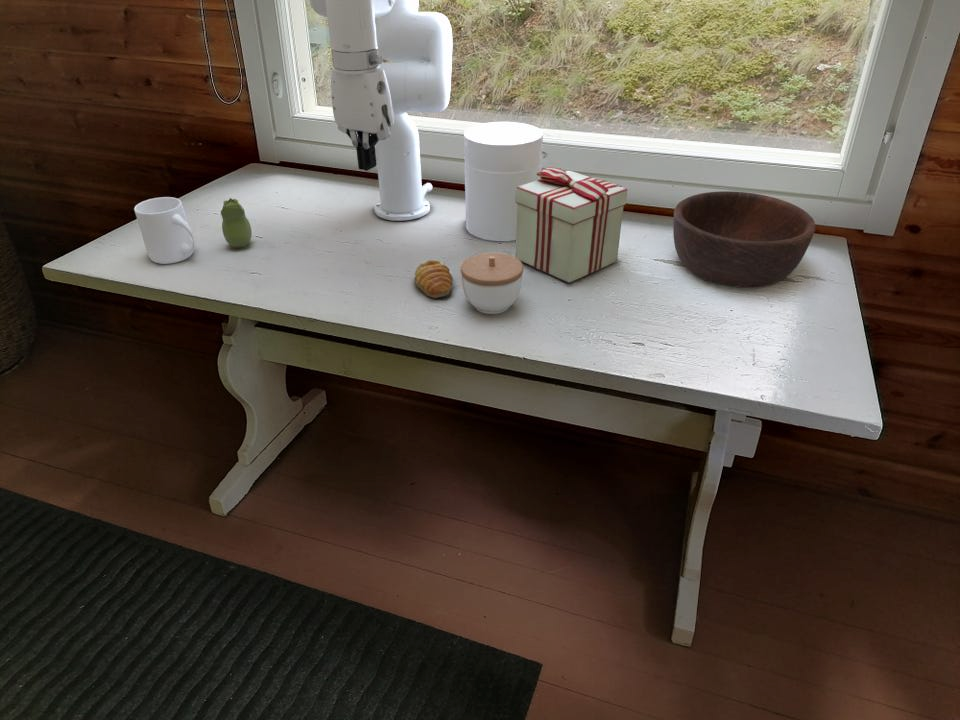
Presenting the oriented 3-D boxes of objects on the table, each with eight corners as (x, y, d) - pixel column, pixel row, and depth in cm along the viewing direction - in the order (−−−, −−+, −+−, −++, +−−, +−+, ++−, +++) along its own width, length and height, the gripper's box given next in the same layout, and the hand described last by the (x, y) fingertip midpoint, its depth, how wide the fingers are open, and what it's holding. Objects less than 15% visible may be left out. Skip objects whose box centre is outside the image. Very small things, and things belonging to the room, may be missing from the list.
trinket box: (459, 292, 127) (458, 245, 121) (518, 289, 127) (519, 242, 122) (463, 322, 118) (462, 273, 112) (526, 319, 118) (527, 270, 113)
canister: (554, 225, 151) (559, 132, 140) (503, 248, 142) (504, 150, 130) (501, 205, 160) (502, 117, 149) (450, 225, 151) (447, 133, 140)
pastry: (460, 297, 125) (459, 278, 123) (423, 303, 124) (422, 284, 121) (446, 274, 132) (445, 256, 130) (412, 279, 131) (410, 261, 129)
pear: (253, 239, 147) (244, 193, 141) (255, 249, 142) (245, 203, 137) (226, 242, 145) (215, 197, 140) (226, 253, 141) (215, 206, 135)
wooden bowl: (658, 283, 128) (666, 232, 123) (675, 231, 148) (682, 184, 142) (803, 305, 121) (818, 252, 115) (801, 247, 141) (814, 199, 135)
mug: (182, 272, 134) (168, 220, 128) (140, 259, 139) (124, 209, 133) (216, 254, 141) (203, 204, 134) (174, 243, 145) (160, 194, 139)
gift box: (630, 254, 139) (640, 170, 129) (574, 287, 128) (581, 198, 118) (562, 231, 148) (567, 151, 138) (505, 260, 137) (506, 175, 127)
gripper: (406, 59, 114) (413, 168, 124) (335, 50, 120) (348, 154, 131) (378, 69, 108) (388, 182, 119) (306, 59, 115) (322, 167, 126)
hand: (367, 167), depth 125 cm, fingers closed
